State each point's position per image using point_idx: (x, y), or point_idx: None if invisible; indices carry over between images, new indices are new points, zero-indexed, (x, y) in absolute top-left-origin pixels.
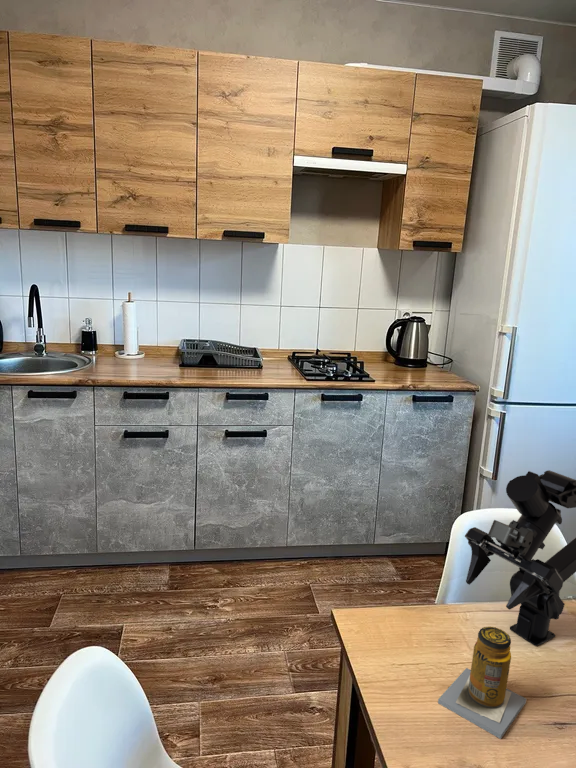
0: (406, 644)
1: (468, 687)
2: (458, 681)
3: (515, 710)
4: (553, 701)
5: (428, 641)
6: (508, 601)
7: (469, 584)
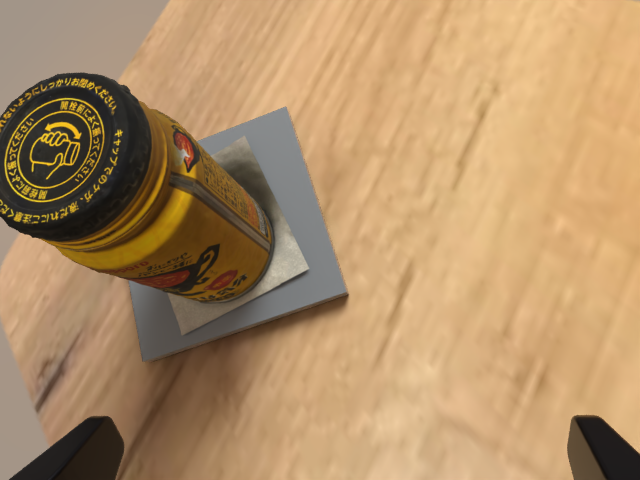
0: (577, 194)
1: (269, 219)
2: (309, 212)
3: (136, 284)
4: None
5: (559, 290)
6: (76, 447)
7: (568, 453)
